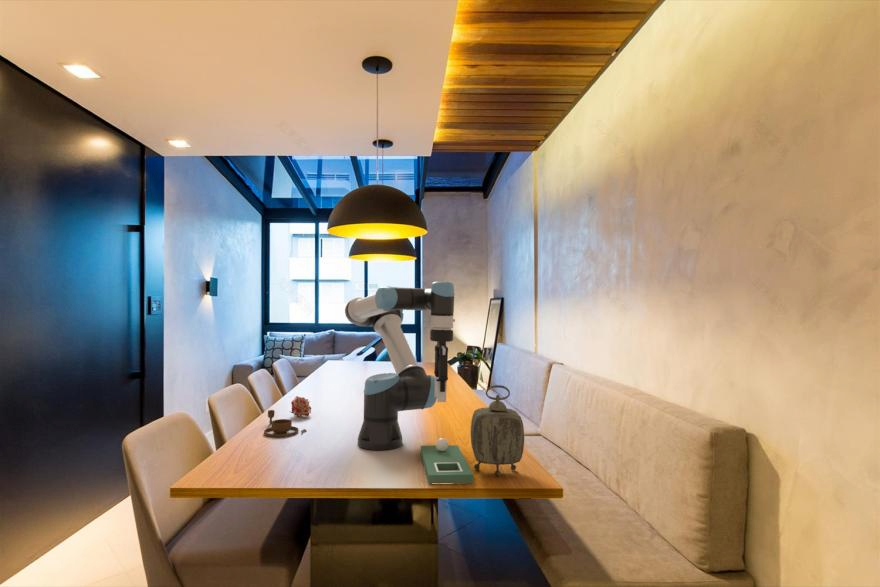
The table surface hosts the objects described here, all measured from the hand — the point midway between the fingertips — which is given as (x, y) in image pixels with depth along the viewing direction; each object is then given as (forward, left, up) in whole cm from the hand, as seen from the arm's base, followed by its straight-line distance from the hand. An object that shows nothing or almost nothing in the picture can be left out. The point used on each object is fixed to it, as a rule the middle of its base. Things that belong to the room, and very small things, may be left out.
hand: (440, 399), depth 149 cm
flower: (-52, +50, -17) cm, 74 cm away
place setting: (-55, +29, -18) cm, 65 cm away
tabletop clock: (+14, -20, -17) cm, 30 cm away
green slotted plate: (0, -14, -17) cm, 22 cm away
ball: (0, -7, -13) cm, 14 cm away
